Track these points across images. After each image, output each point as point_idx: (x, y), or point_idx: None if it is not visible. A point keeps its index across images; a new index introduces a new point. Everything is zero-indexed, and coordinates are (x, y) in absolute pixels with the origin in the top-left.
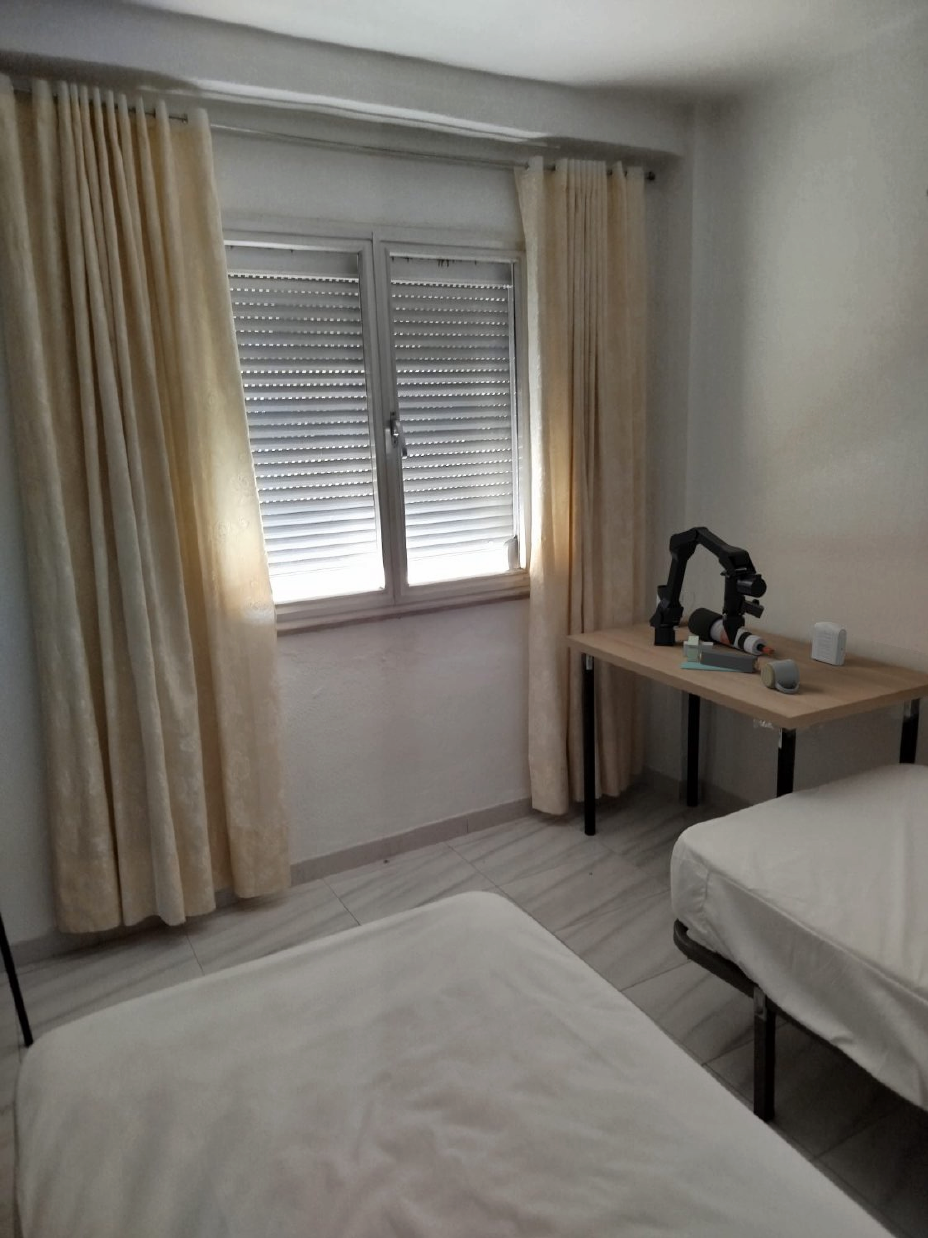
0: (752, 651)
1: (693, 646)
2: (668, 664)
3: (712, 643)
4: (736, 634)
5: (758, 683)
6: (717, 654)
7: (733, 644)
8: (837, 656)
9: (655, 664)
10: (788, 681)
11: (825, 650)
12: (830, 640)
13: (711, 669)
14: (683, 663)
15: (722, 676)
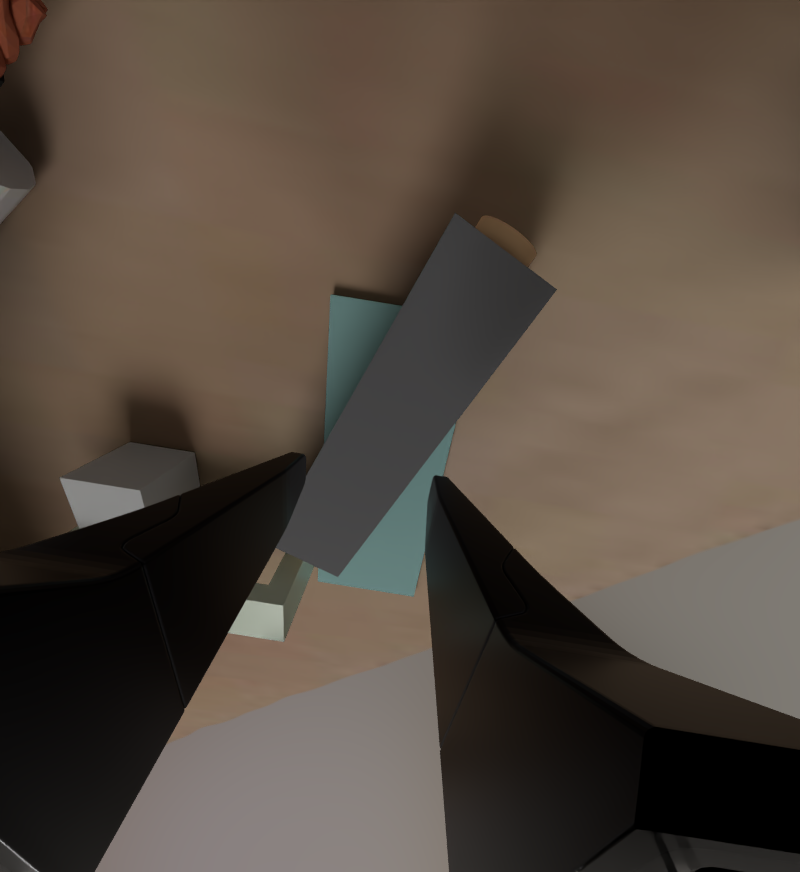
0: (22, 186)
1: (286, 617)
2: (351, 616)
3: (89, 484)
4: (523, 561)
5: (734, 289)
6: (387, 510)
7: (446, 481)
8: None
9: (357, 647)
10: None
11: None
12: None
13: None
14: (348, 581)
15: (544, 463)
